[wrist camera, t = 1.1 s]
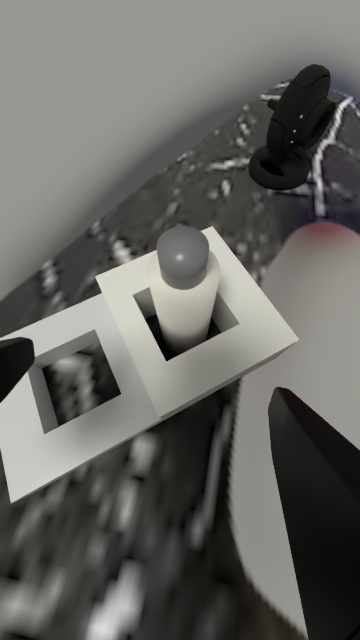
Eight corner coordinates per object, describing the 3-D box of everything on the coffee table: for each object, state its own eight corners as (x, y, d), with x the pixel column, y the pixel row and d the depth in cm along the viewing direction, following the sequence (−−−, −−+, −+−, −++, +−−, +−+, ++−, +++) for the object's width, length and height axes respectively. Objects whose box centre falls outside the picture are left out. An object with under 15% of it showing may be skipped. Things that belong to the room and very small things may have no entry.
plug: (215, 341, 23) (242, 259, 12) (175, 361, 22) (162, 297, 11) (193, 305, 24) (198, 204, 13) (155, 323, 23) (127, 233, 12)
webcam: (281, 201, 29) (324, 99, 20) (235, 171, 32) (254, 68, 23) (319, 170, 31) (374, 65, 22) (273, 145, 34) (305, 40, 25)
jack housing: (275, 357, 22) (299, 339, 17) (33, 493, 18) (-19, 516, 14) (207, 261, 26) (212, 226, 22) (1, 355, 23) (-46, 336, 18)
